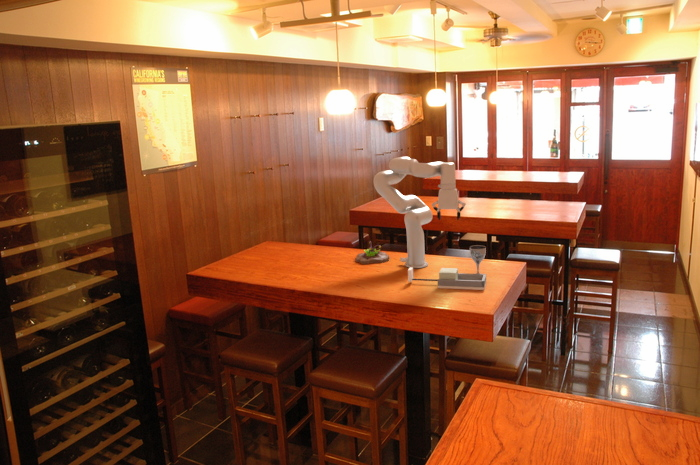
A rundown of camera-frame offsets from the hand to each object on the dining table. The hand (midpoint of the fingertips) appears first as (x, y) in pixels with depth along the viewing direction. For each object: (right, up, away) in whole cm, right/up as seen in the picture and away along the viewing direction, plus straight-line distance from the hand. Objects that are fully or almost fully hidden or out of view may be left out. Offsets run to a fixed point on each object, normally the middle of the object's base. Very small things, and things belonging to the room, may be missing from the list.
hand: (448, 219), depth 295 cm
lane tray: (+4, -33, -17) cm, 37 cm away
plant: (-38, -23, +40) cm, 60 cm away
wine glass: (+14, -29, -3) cm, 33 cm away
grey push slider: (-10, -31, -13) cm, 35 cm away
